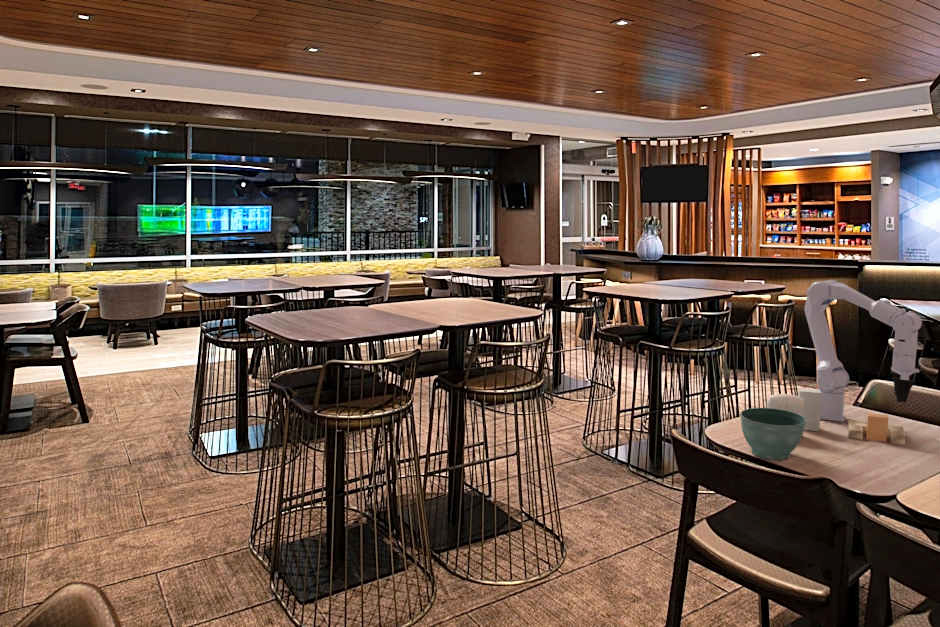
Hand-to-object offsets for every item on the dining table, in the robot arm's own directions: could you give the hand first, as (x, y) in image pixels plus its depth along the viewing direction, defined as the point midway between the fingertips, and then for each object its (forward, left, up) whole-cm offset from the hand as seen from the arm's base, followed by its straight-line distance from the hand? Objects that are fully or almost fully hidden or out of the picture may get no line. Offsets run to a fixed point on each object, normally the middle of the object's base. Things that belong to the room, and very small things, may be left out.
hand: (900, 398), depth 205 cm
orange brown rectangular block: (-6, -10, -10) cm, 15 cm away
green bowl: (-32, -38, -11) cm, 51 cm away
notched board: (-6, -7, -10) cm, 14 cm away
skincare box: (-24, -8, -11) cm, 27 cm away
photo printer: (-30, -18, -11) cm, 37 cm away
